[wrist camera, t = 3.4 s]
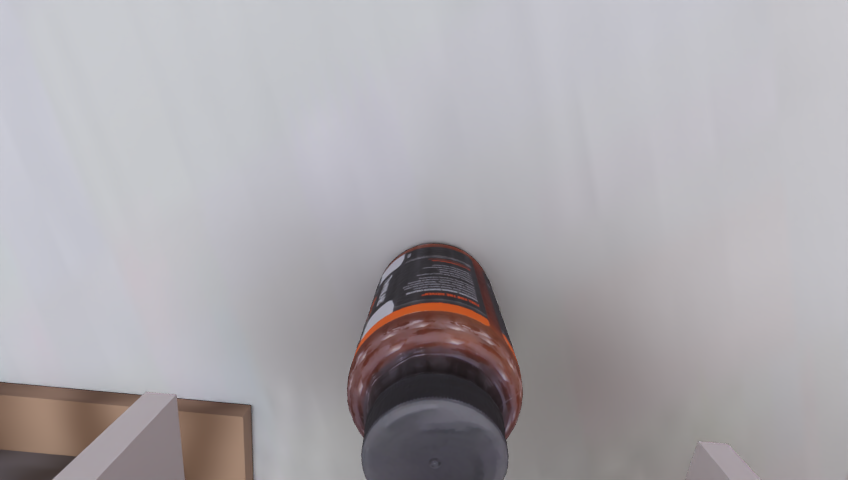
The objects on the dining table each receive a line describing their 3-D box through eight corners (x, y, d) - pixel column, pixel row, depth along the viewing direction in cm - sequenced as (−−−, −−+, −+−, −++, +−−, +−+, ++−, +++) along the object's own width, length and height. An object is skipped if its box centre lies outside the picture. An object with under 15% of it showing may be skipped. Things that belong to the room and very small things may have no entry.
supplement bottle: (361, 261, 21) (284, 401, 10) (470, 224, 21) (510, 332, 10) (401, 357, 23) (370, 569, 12) (504, 325, 22) (572, 519, 11)
